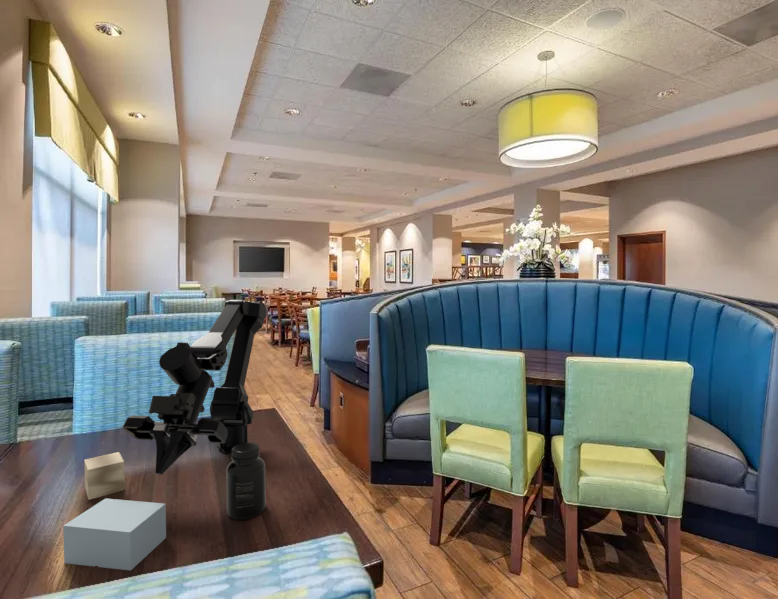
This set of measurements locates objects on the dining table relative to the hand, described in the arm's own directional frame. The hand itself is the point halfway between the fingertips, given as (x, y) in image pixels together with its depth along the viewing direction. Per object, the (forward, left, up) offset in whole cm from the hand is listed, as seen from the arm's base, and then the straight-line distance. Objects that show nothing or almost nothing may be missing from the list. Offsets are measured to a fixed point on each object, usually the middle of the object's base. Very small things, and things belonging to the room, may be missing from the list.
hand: (158, 473), depth 78 cm
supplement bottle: (-12, +10, -7) cm, 17 cm away
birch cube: (+7, -16, -7) cm, 19 cm away
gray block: (+5, +5, -4) cm, 8 cm away
